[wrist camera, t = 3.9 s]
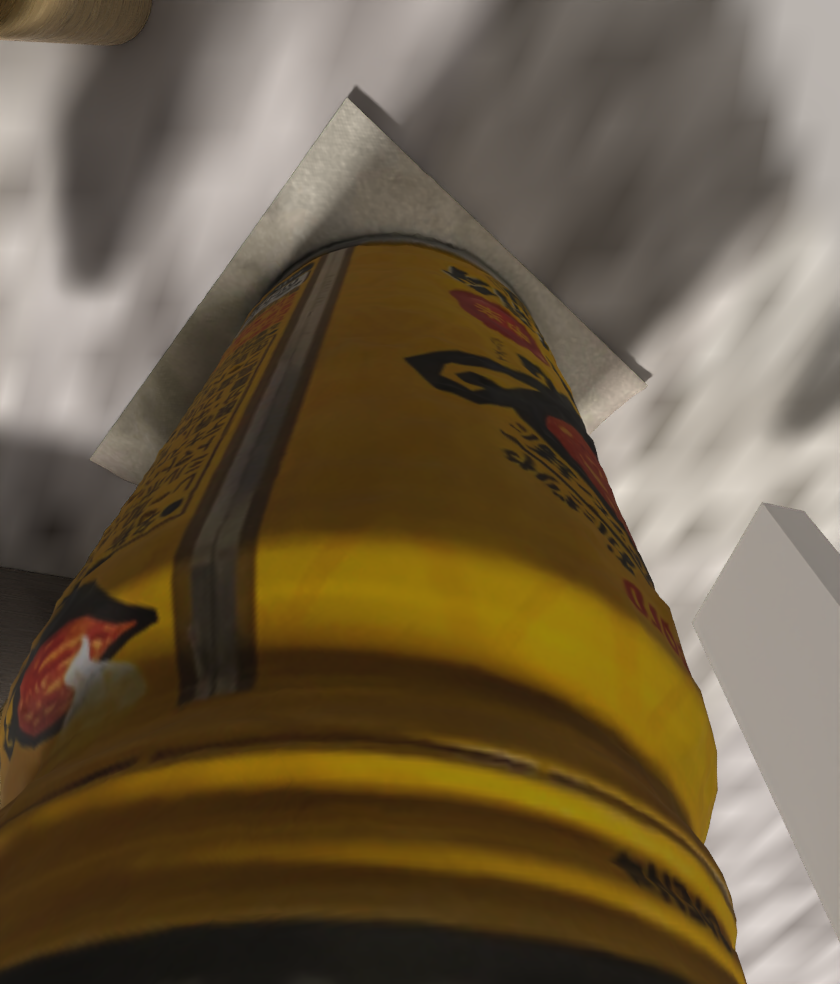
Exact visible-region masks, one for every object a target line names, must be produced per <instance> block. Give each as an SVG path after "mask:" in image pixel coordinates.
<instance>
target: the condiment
mask: <svg viewBox="0 0 840 984" xmlns="http://www.w3.org/2000/svg"><path fill="white" fill-rule="evenodd" d="M647 386H648V385H647V384H646V383H645V382H644V381H643V380H642V379H641V378H639V377H638V376H637V375H636V374H635V373H634V372H633V371H632V370H631V369H630V368H629V367H628V366H627V365H626V364H625V363H624V362H623V361H622V360H621V359H620V358H619V357H618V356H617V355H616V354H615V353H613V352H612V351H611V350H610V349H609V348H608V347H607V345H606V344H605V343H604V342H602V341H601V340H600V339H599V338H598V337H597V336H596V335H595V334H594V333H593V332H592V331H591V330H590V329H589V328H587V327H586V326H585V325H584V324H583V323H582V322H581V321H580V320H579V319H578V318H577V317H576V316H575V315H574V314H573V313H572V312H571V311H570V310H569V309H568V308H567V307H566V306H565V305H564V304H563V303H562V302H561V301H560V300H559V299H558V298H557V297H556V296H555V295H553V294H552V293H551V292H550V291H549V290H548V289H547V288H546V287H545V286H544V285H543V284H542V283H541V282H540V281H539V280H538V279H537V278H536V277H535V276H534V275H533V274H532V273H531V272H530V271H529V270H528V269H526V268H525V267H524V266H523V265H522V264H521V263H520V262H519V261H518V260H517V259H516V258H515V257H514V256H513V255H512V254H511V253H510V252H509V251H508V250H506V249H505V248H504V247H503V246H502V245H501V244H500V243H499V242H498V241H497V240H496V239H495V238H494V237H493V236H492V235H491V234H490V233H489V232H488V231H487V230H486V229H484V228H483V227H482V226H481V225H480V224H479V223H478V222H477V221H476V220H475V219H474V218H473V217H472V216H471V215H470V214H469V213H468V212H467V211H466V210H465V209H464V208H463V207H462V206H460V205H459V204H458V203H457V202H456V201H455V200H454V199H453V198H452V197H451V196H450V195H449V194H448V193H447V192H446V191H445V190H444V189H442V188H441V187H440V186H439V185H438V184H437V183H436V181H435V180H434V179H433V178H432V177H430V176H429V175H428V174H426V173H425V172H424V171H422V170H421V169H420V167H419V166H418V165H417V164H416V163H415V162H414V161H413V160H412V159H411V158H410V157H408V156H407V155H406V154H405V153H404V152H403V151H402V150H401V149H400V148H399V147H398V146H397V145H396V144H395V143H394V142H393V141H392V140H391V139H390V138H389V137H388V136H387V135H386V134H385V133H384V132H382V131H381V130H380V129H379V128H378V127H377V126H376V125H375V124H374V123H373V122H372V121H371V120H370V119H369V118H368V117H367V116H366V115H365V114H364V113H363V112H362V111H361V110H360V109H359V108H358V107H357V106H355V105H354V104H353V103H352V102H351V101H350V100H349V99H348V98H346V100H345V101H344V102H343V104H342V105H341V107H340V108H339V109H338V111H337V112H336V114H335V115H334V116H333V118H332V119H331V121H330V122H329V124H328V125H327V126H326V128H325V129H324V131H323V132H322V133H321V135H320V136H319V138H318V139H317V141H316V142H315V143H314V145H313V146H312V148H311V149H310V150H309V152H308V153H307V155H306V156H305V157H304V159H303V160H302V162H301V163H300V165H299V166H298V167H297V169H296V170H295V172H294V173H293V174H292V176H291V177H290V179H289V180H288V182H287V183H286V184H285V186H284V187H283V189H282V190H281V191H280V193H279V194H278V196H277V197H276V198H275V200H274V201H273V203H272V204H271V205H270V207H269V208H268V210H267V211H266V213H265V214H264V215H263V217H262V218H261V219H260V221H259V222H258V224H257V225H256V227H255V228H254V229H253V231H252V232H251V234H250V235H249V236H248V238H247V239H246V241H245V242H244V243H243V245H242V246H241V248H240V249H239V250H238V252H237V253H236V255H235V256H234V258H233V259H232V260H231V262H230V263H229V264H228V266H227V267H226V269H225V270H224V272H223V273H222V274H221V276H220V277H219V279H218V280H217V281H216V283H215V284H214V286H213V287H212V288H211V290H210V291H209V293H208V294H207V295H206V297H205V298H204V299H203V301H202V302H201V303H200V304H199V305H198V307H197V309H196V311H195V312H194V314H193V315H192V316H191V318H190V319H189V320H188V322H187V323H186V325H185V326H184V327H183V329H182V330H181V331H180V333H179V334H178V336H177V337H176V338H175V340H174V342H173V344H172V345H171V346H170V347H169V349H168V350H167V351H166V353H165V354H164V356H163V357H162V358H161V360H160V361H159V363H158V364H157V365H156V367H155V368H154V369H153V370H152V372H151V374H150V375H149V377H148V378H147V380H146V381H145V382H144V384H143V385H142V386H141V388H140V389H139V390H138V392H137V393H136V395H135V396H134V398H133V399H132V401H131V402H130V403H129V405H128V406H127V408H126V409H125V410H124V412H123V413H122V415H121V416H120V418H119V419H118V420H117V422H116V423H115V424H114V426H113V427H112V428H111V430H110V431H109V433H108V434H107V436H106V437H105V438H104V440H103V441H102V443H101V444H100V445H99V447H98V448H97V450H96V451H95V452H94V454H93V455H92V457H91V458H90V460H91V461H92V462H94V463H96V464H98V465H100V466H102V467H103V468H105V469H107V470H109V471H110V472H112V473H113V474H115V475H116V476H118V477H120V478H122V479H124V480H126V481H129V482H131V483H134V484H136V485H138V486H137V488H136V490H135V491H134V493H133V494H132V496H131V497H130V498H129V500H128V501H127V502H126V503H125V504H124V506H123V507H122V508H121V511H120V513H119V515H118V516H117V517H116V519H115V520H114V521H113V522H112V523H111V525H110V526H109V527H108V528H107V529H106V530H105V532H104V534H103V536H102V539H101V540H100V541H99V544H98V545H97V546H96V548H95V549H94V550H93V552H92V553H91V555H90V556H89V558H88V560H87V562H86V564H85V566H84V567H83V568H82V569H81V571H80V572H79V574H78V575H77V576H76V578H75V579H74V580H73V581H72V583H71V584H70V585H69V586H68V587H67V588H66V590H65V591H64V592H63V595H62V596H61V597H60V599H59V600H58V601H57V602H56V605H55V608H54V611H53V614H52V616H51V618H50V620H49V621H48V622H47V624H46V625H45V626H44V628H43V629H42V630H41V632H40V633H39V634H38V636H37V637H36V638H35V640H34V641H33V642H32V646H31V650H30V654H29V655H28V656H27V658H26V659H25V661H24V662H23V664H22V666H21V668H20V671H19V673H18V675H17V677H16V679H15V680H14V682H13V683H12V685H11V687H10V692H9V697H8V702H7V703H6V705H5V706H4V708H3V712H2V717H1V722H0V781H1V784H0V800H1V805H0V984H747V983H746V979H745V976H744V973H743V970H742V967H741V964H740V961H739V958H738V955H737V953H736V951H735V944H736V937H737V927H736V917H735V913H734V910H733V903H732V898H731V895H730V892H729V890H728V887H727V884H726V882H725V879H724V877H723V874H722V872H721V871H720V869H719V867H718V866H717V864H716V862H715V861H714V859H713V857H712V856H711V854H710V852H709V851H708V849H707V848H706V847H705V845H704V843H705V840H706V836H707V833H708V829H709V825H710V819H711V814H712V810H713V806H714V802H715V798H716V794H717V791H718V787H717V750H716V745H715V741H714V737H713V732H712V728H711V725H710V722H709V718H708V715H707V711H706V708H705V704H704V701H703V697H702V694H701V690H700V689H699V687H698V686H697V684H696V683H695V681H694V679H693V678H692V676H691V673H690V671H689V668H688V666H687V663H686V660H685V657H684V654H683V650H682V647H681V644H680V640H679V637H678V634H677V630H676V627H675V624H674V621H673V618H672V614H671V611H670V608H669V606H668V605H667V604H666V603H665V602H664V601H663V600H662V599H661V598H660V597H659V595H658V594H657V592H656V591H655V588H654V584H653V581H652V579H651V577H650V575H649V573H648V571H647V568H646V566H645V564H644V562H643V559H642V557H641V555H640V554H639V552H638V550H637V548H636V545H635V543H634V540H633V538H632V536H631V534H630V532H629V529H628V527H627V525H626V522H625V520H624V518H623V517H622V515H621V513H620V510H619V508H618V506H617V504H616V501H615V498H614V495H613V492H612V489H611V487H610V486H609V484H608V480H607V477H606V475H605V473H604V471H603V468H602V467H601V466H600V464H599V461H598V457H597V452H596V448H595V445H594V442H593V440H592V439H591V437H590V436H589V435H590V434H591V433H592V432H593V431H594V430H595V429H596V428H597V427H598V426H599V425H600V424H601V423H602V422H603V421H604V420H605V419H606V418H608V417H609V416H610V415H611V414H612V413H613V412H614V411H615V410H617V409H618V408H620V407H621V406H622V405H623V404H624V403H625V402H627V401H628V400H629V399H630V398H631V397H633V396H634V395H635V394H637V393H639V392H640V391H642V390H644V389H645V388H646V387H647Z"/></svg>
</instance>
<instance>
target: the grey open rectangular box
mask: <svg viewBox="0 0 840 984" xmlns="http://www.w3.org/2000/svg"><path fill="white" fill-rule="evenodd" d="M151 5H152V0H0V40H9V41H29V42H48V43H67V44H87V45H107V46H113V45H119V44H122V43H125V42H127V41H129V40H131V39H132V38H134V37H135V36H136V35H137V34H138V33H139V32H140V31H141V30H142V28H143V27H144V25H145V23H146V21H147V19H148V17H149V14H150V10H151ZM72 581H73V579H67V578H61V577H55V576H49V575H44V574H38V573H32V572H26V571H20V570H14V569H8V568H2V567H0V722H1V717H2V712H3V708H4V706H5V705H6V703H7V702H8V697H9V692H10V687H11V685H12V683H13V682H14V680H15V679H16V677H17V675H18V673H19V671H20V668H21V666H22V664H23V662H24V661H25V659H26V658H27V656H28V655H29V654H30V650H31V646H32V642H33V641H34V640H35V638H36V637H37V636H38V634H39V633H40V632H41V630H42V629H43V628H44V626H45V625H46V624H47V622H48V621H49V620H50V618H51V616H52V614H53V611H54V608H55V605H56V602H57V601H58V600H59V599H60V597H61V596H62V595H63V592H64V591H65V590H66V588H67V587H68V586H69V585H70V584H71V583H72ZM0 784H1V781H0ZM0 805H1V800H0Z"/></svg>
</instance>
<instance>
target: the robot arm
mask: <svg viewBox="0 0 840 984" xmlns="http://www.w3.org/2000/svg"><path fill="white" fill-rule="evenodd" d="M692 625H693V627H694V629H695V631H696V633H697V635H698V638H699V640H700V642H701V644H702V646H703V648H704V650H705V653H706V655H707V657H708V659H709V661H710V663H711V666H712V668H713V670H714V672H715V674H716V676H717V679H718V681H719V683H720V685H721V687H722V689H723V692H724V694H725V696H726V698H727V700H728V702H729V704H730V707H731V709H732V711H733V713H734V715H735V717H736V720H737V722H738V724H739V726H740V728H741V730H742V733H743V735H744V737H745V739H746V741H747V743H748V745H749V748H750V750H751V752H752V754H753V756H754V758H755V761H756V763H757V765H758V767H759V769H760V771H761V774H762V776H763V778H764V780H765V782H766V784H767V787H768V789H769V791H770V793H771V795H772V797H773V799H774V802H775V804H776V806H777V808H778V810H779V812H780V815H781V817H782V819H783V821H784V823H785V825H786V828H787V830H788V832H789V834H790V836H791V838H792V840H793V843H794V845H795V847H796V849H797V851H798V853H799V856H800V858H801V860H802V862H803V864H804V866H805V869H806V871H807V873H808V875H809V877H810V879H811V882H812V884H813V886H814V888H815V890H816V892H817V894H818V897H819V899H820V901H821V903H822V905H823V907H824V910H825V912H826V914H827V916H828V918H829V920H830V923H831V925H832V927H833V929H834V931H835V933H836V935H837V938H838V940H839V942H840V554H839V553H838V552H837V550H836V549H835V548H834V547H833V546H832V544H831V543H830V542H829V541H828V539H827V538H826V537H825V536H824V535H823V533H822V532H821V531H820V530H819V529H818V527H817V526H816V525H815V524H814V523H813V521H812V520H811V519H810V518H809V516H808V515H807V514H806V513H805V512H804V511H801V510H797V509H792V508H787V507H782V506H777V505H773V504H768V503H763V502H762V503H761V505H760V506H759V508H758V510H757V511H756V513H755V515H754V517H753V518H752V520H751V522H750V523H749V525H748V527H747V529H746V530H745V532H744V534H743V535H742V537H741V539H740V541H739V542H738V544H737V546H736V547H735V549H734V551H733V553H732V554H731V556H730V558H729V559H728V561H727V563H726V565H725V566H724V568H723V570H722V571H721V573H720V575H719V577H718V578H717V580H716V582H715V583H714V585H713V587H712V589H711V590H710V592H709V594H708V595H707V597H706V599H705V601H704V602H703V604H702V606H701V607H700V609H699V611H698V613H697V614H696V616H695V618H694V620H693V621H692Z"/></svg>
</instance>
